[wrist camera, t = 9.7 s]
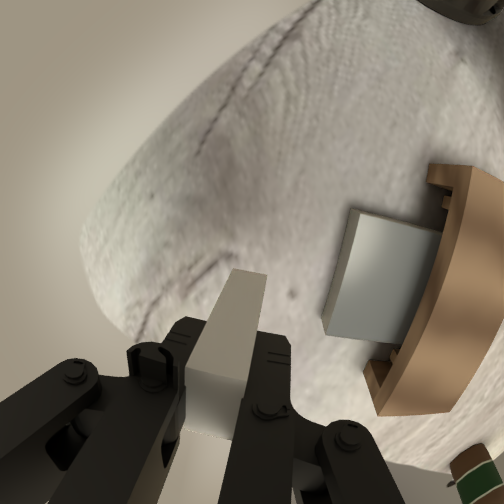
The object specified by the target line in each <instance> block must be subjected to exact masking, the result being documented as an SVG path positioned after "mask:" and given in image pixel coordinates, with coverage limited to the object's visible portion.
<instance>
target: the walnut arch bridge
mask: <svg viewBox="0 0 504 504" xmlns="http://www.w3.org/2000/svg"><path fill="white" fill-rule="evenodd" d="M426 182H427V183H430V184H432V185H435V186H438V187H441V188H443V189H446V190H449V191H451V192H452V197H449V196H445V195H444V199H443V203H442V208H445V209H448V210H449V211H448V215H447V219H446V223H445V227H444V231H443V235H442V238H441V242H440V245H439V249H438V252H437V256H436V259H435V262H434V265H433V268H432V271H431V274H430V277H429V280H428V283H427V286H426V289H425V291H424V294H423V297H422V300H421V302H420V305H419V307H418V310H417V312H416V315H415V317H414V320H413V322H412V324H411V327H410V329H409V331H408V334H407V336H406V338H405V340H404V342H403V345H402V347H401V349H393V350H392V353H391V355H390V357H389V358H390V360H391V362H388V361H374V360H369V361H368V363H367V365H366V367H365V369H364V371H363V374H364V377H365V380H366V383H367V386H368V389H369V392H370V395H371V398H372V401H373V404H374V407H375V410H376V413H377V416H409V415H425V414H436V413H446V412H450V411H451V409H452V408H453V407H454V405H455V404H456V402H457V401H458V399H459V398H460V396H461V395H462V393H463V392H464V390H465V389H466V387H467V386H468V384H469V383H470V381H471V379H472V378H473V376H474V374H475V373H476V371H477V369H478V368H479V366H480V364H481V362H482V361H483V359H484V357H485V355H486V353H487V351H488V350H489V348H490V346H491V344H492V342H493V340H494V338H495V336H496V334H497V332H498V330H499V327H500V325H501V323H502V321H503V319H504V182H503V181H501V180H499V179H497V178H496V177H494V176H492V175H490V174H488V173H486V172H484V171H482V170H480V169H478V168H476V167H474V166H467V165H450V164H429V169H428V174H427V180H426Z"/></svg>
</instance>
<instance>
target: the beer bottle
mask: <svg viewBox="0 0 504 504" xmlns="http://www.w3.org/2000/svg"><path fill="white" fill-rule="evenodd" d="M450 469H451V473H452V476H453V479H454V481H455V484H456V487H457V490H458V492H459V495H460V498H461V501H462V503H463V504H504V484H503V482H502V479H501V477H500V475H499V473H498V471H497V469H496V467H495V464H494V462H493V460H492V458H491V456H490V454H489V452H488V450H487V449H486V447H485V446H484V444H477V445H473V446H472V447H470V448H469V449H467V450H465V451H464V452H462V453H460V454H459V455H458V456H457V457H456V458H455V459H454V460H453V461H452V462H451V463H450Z"/></svg>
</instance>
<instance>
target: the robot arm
mask: <svg viewBox="0 0 504 504" xmlns="http://www.w3.org/2000/svg"><path fill="white" fill-rule="evenodd" d="M419 1H420V2H422V3H423V4H425V5H426V6H428V7H430V8H431V9H433V10H435V11H437V12H439V13H440V14H442V15H444V16H446V17H449V18H451V19H453V20H456V21H458V22H461V23H465V24H470V25H482V24H485V23H487V22H488V21H490V20H492V19H494V18H495V17H497V16H498V15H499V14H500V13H501V11H502V9H503V7H504V0H419ZM266 279H267V275H265V274H260V273H254V272H249V271H244V270H239V269H234V268H233V270H232V272H231V274H230V276H229V278H228V280H227V282H226V284H225V286H224V288H223V290H222V292H221V294H220V296H219V298H218V300H217V302H216V304H215V306H214V308H213V310H212V312H211V314H210V316H209V318H208V321H204V320H199V319H195V318H191V317H187V316H185V317H184V318H182V319H180V320H179V321H177V322H175V324H174V325H173V327H172V328H171V330H170V332H169V333H168V334H167V336H166V337H165V340H163V342H162V343H156V342H142V343H139V344H136V345H134V346H132V347H131V348H129V349H128V350H127V360H128V367H129V376H128V377H113V376H104V375H99V374H98V371H97V368H96V367H95V366H94V365H93V364H92V363H91V362H89V361H87V360H85V359H78V358H74V359H67V360H65V361H63V362H61V363H59V364H57V365H56V366H54V367H53V368H51V369H50V370H49V371H47V372H45V373H44V374H42V375H41V376H40V377H38V378H36V379H35V380H33V381H32V382H30V383H29V384H27V385H26V386H24V387H23V388H21V389H20V390H18V391H17V392H15V393H14V394H12V395H11V396H9V397H8V398H6V399H5V400H4V401H2V402H0V504H45V503H46V502H47V501H49V502H48V504H157V502H158V499H159V496H160V494H161V491H162V488H163V486H164V483H165V480H166V478H167V475H168V473H169V470H170V467H171V465H172V462H173V459H174V456H175V454H176V451H177V449H178V446H179V441H180V431H181V429H182V426H183V424H184V429H186V430H190V431H193V432H197V433H201V434H205V435H209V436H213V437H218V438H223V439H227V440H232V444H231V448H230V453H229V457H228V462H227V466H226V470H225V474H224V479H223V483H222V487H221V491H220V495H219V500H218V504H291V493H292V487H293V491H294V494H295V498H296V503H297V504H405V502H404V500H403V498H402V496H401V494H400V491H399V490H398V487H397V485H396V483H395V481H394V479H393V477H392V475H391V473H390V471H389V469H388V467H387V465H386V463H385V461H384V459H383V457H382V455H381V453H380V451H379V449H378V447H377V445H376V442H375V441H374V439H373V437H372V435H371V433H370V432H369V431H368V429H367V428H366V427H364V426H363V425H361V424H360V423H358V422H354V421H351V420H338V421H334V422H331V423H330V424H329V425H328V426H327V427H325V426H323V425H320V424H317V423H314V422H311V421H309V420H307V419H305V418H303V417H302V416H301V415H299V414H298V413H297V412H296V411H295V409H294V408H293V406H292V404H291V400H290V381H291V366H290V365H291V345H290V343H289V341H288V340H287V338H286V336H283V335H278V334H272V333H266V332H261V331H257V328H258V323H259V317H260V312H261V307H262V301H263V296H264V290H265V285H266Z"/></svg>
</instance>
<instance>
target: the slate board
mask: <svg viewBox="0 0 504 504" xmlns="http://www.w3.org/2000/svg"><path fill="white" fill-rule="evenodd" d="M442 235H443V232H439V231H436V230H432V229H429V228H425V227H422V226H418V225H415V224H411V223H408V222H404V221H400V220H397V219H393V218H389V217H385V216H381V215H377V214H373V213H369V212H365V211H361V210H357V209H353V208H351V210H350V214H349V219H348V223H347V227H346V231H345V235H344V240H343V243H342V247H341V251H340V255H339V259H338V263H337V266H336V270H335V274H334V277H333V281H332V284H331V288H330V291H329V295H328V298H327V301H326V305H325V308H324V311H323V314H322V318H321V319H322V323H323V327H324V331H325V335H328V336H335V337H342V338H350V339H358V340H366V341H375V342H384V343H394V344H403V342H404V340H405V338H406V336H407V334H408V331H409V329H410V327H411V324H412V322H413V320H414V317H415V315H416V312H417V310H418V307H419V305H420V302H421V300H422V297H423V294H424V291H425V289H426V286H427V283H428V280H429V277H430V274H431V271H432V268H433V265H434V262H435V259H436V256H437V252H438V249H439V245H440V242H441V238H442Z"/></svg>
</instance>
